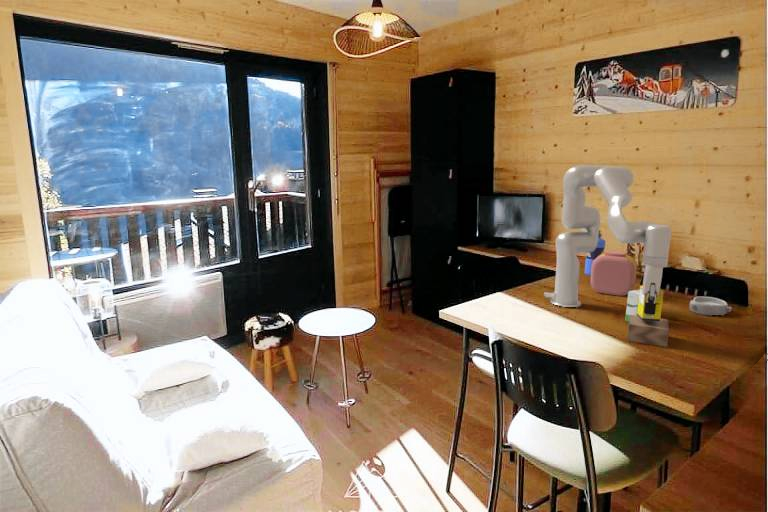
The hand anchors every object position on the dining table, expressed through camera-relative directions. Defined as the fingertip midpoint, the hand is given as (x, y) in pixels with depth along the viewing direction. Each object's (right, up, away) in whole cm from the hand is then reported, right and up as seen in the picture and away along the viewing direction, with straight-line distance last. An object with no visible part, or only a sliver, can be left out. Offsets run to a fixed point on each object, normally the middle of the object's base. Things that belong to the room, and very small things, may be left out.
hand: (649, 310), depth 169 cm
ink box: (+7, -6, +21) cm, 23 cm away
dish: (+42, -4, +32) cm, 53 cm away
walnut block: (0, -10, +2) cm, 10 cm away
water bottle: (+23, +9, +99) cm, 102 cm away
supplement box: (0, -3, +1) cm, 3 cm away
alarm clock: (+16, +1, +61) cm, 63 cm away
